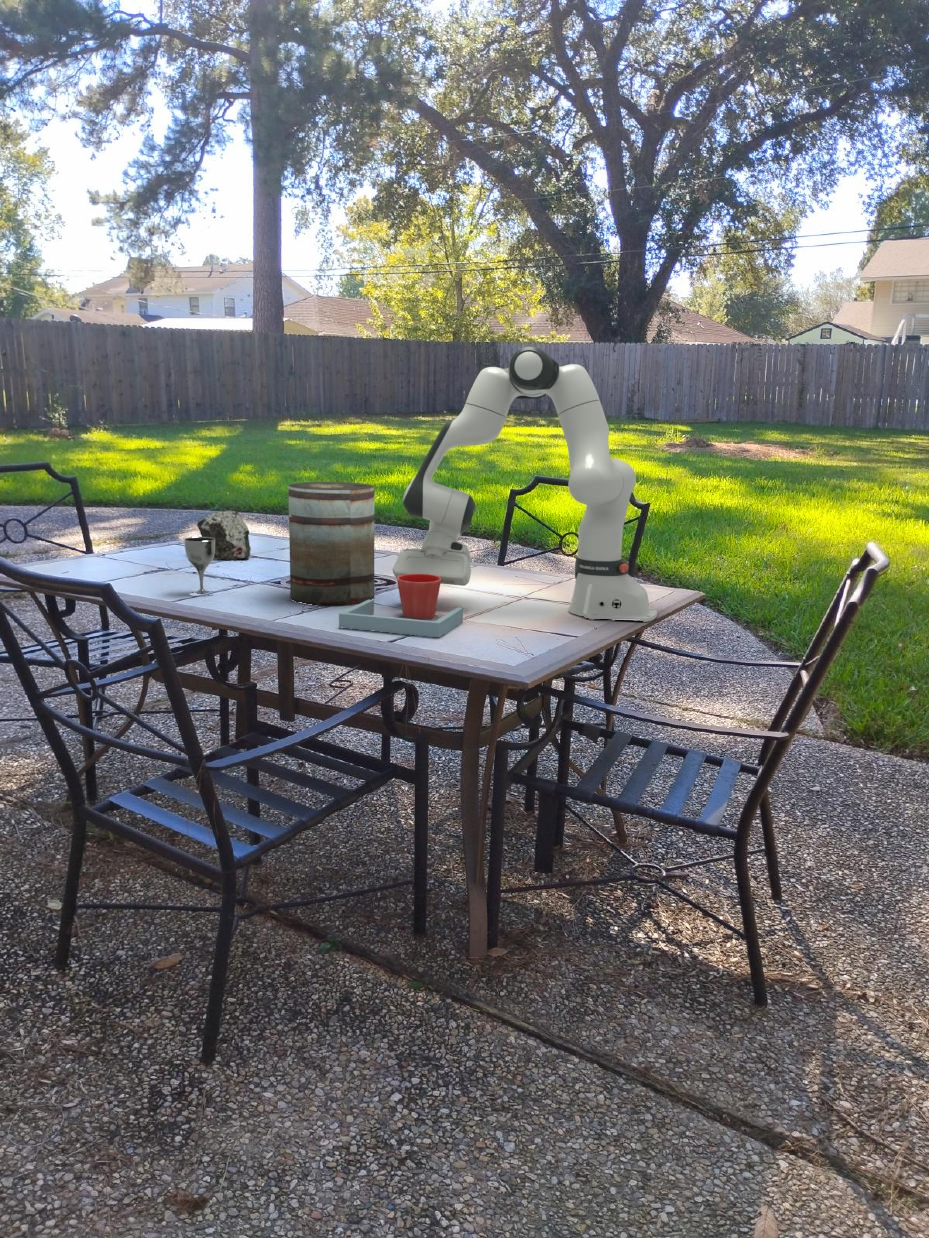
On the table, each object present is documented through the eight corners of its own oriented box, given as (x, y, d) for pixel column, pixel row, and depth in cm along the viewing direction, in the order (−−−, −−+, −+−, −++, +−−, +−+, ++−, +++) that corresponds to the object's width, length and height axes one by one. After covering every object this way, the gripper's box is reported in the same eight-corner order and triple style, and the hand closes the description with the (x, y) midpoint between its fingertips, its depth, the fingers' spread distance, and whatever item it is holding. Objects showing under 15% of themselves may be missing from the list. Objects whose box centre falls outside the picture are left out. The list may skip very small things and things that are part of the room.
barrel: (352, 586, 285) (351, 480, 278) (389, 601, 266) (389, 488, 259) (277, 593, 273) (275, 483, 266) (310, 609, 254) (308, 491, 248)
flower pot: (418, 622, 242) (418, 583, 240) (388, 615, 250) (388, 577, 248) (449, 616, 250) (450, 578, 248) (419, 609, 257) (419, 572, 255)
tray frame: (462, 622, 244) (463, 608, 243) (439, 638, 228) (439, 623, 227) (368, 613, 252) (368, 599, 251) (338, 628, 235) (338, 613, 234)
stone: (189, 568, 323) (189, 528, 315) (201, 540, 338) (201, 501, 329) (247, 575, 325) (248, 535, 316) (257, 546, 340) (258, 508, 331)
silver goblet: (203, 589, 276) (201, 535, 272) (223, 593, 271) (221, 538, 268) (180, 594, 269) (178, 539, 266) (200, 598, 265) (197, 542, 261)
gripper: (398, 540, 261) (383, 584, 254) (472, 546, 255) (459, 590, 248) (404, 554, 266) (390, 597, 260) (477, 560, 260) (464, 604, 253)
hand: (424, 594), depth 254 cm, fingers closed
